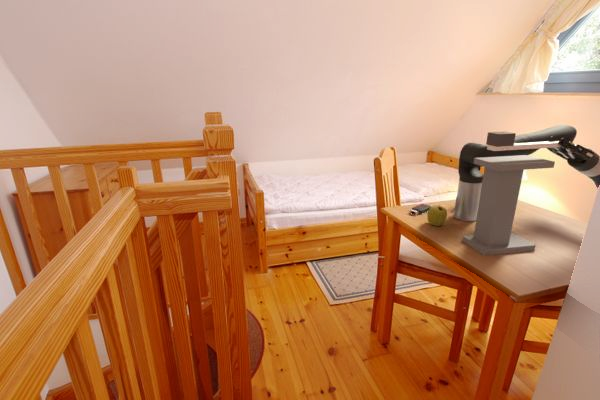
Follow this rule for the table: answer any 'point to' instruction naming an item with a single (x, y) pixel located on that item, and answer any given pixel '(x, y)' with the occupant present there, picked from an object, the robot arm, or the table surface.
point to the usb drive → (420, 209)
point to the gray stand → (501, 204)
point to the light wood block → (506, 142)
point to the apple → (436, 215)
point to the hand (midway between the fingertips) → (555, 139)
